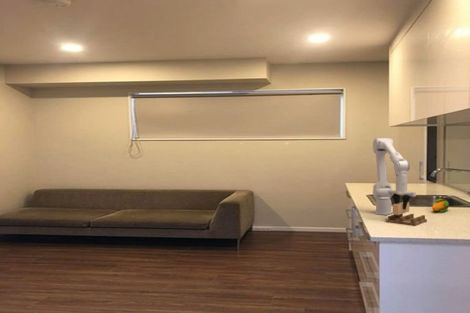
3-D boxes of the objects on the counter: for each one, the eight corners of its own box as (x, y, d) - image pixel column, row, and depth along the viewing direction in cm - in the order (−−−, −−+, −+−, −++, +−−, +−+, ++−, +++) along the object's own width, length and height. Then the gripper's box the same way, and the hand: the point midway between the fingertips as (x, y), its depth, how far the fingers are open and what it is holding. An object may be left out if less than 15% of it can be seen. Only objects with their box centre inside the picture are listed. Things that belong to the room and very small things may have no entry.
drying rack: (399, 217, 240) (399, 212, 240) (426, 221, 229) (426, 215, 229) (386, 222, 228) (386, 216, 228) (414, 226, 218) (414, 219, 218)
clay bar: (403, 210, 237) (403, 201, 237) (409, 211, 235) (409, 202, 234) (392, 214, 227) (392, 204, 227) (398, 214, 225) (398, 205, 224)
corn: (450, 197, 264) (440, 201, 249) (451, 210, 264) (441, 214, 249) (438, 197, 269) (427, 201, 254) (438, 209, 269) (428, 214, 254)
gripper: (384, 182, 232) (384, 208, 233) (412, 184, 222) (411, 211, 223) (390, 181, 237) (390, 206, 238) (417, 183, 227) (417, 209, 228)
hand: (401, 208), depth 231 cm, fingers closed on clay bar, 3 cm apart
